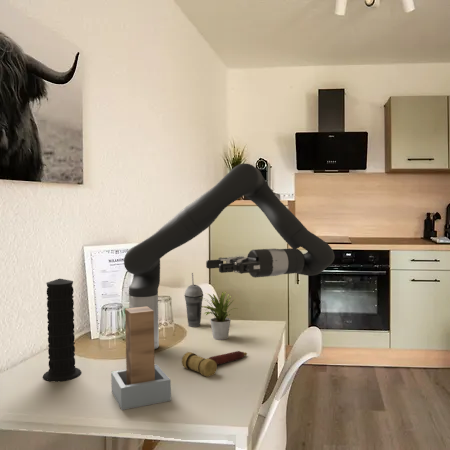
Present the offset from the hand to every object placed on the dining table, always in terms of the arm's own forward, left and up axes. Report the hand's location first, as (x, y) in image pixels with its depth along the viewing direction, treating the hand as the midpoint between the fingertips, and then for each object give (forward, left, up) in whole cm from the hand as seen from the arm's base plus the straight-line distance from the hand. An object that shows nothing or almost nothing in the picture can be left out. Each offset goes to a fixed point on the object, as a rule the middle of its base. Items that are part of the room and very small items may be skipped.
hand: (212, 266), depth 121 cm
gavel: (-7, +11, -31) cm, 33 cm away
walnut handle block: (-8, -18, -29) cm, 35 cm away
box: (-8, -18, -30) cm, 36 cm away
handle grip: (-36, -21, -30) cm, 52 cm away
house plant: (-24, +33, -30) cm, 51 cm away
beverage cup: (-41, +39, -30) cm, 64 cm away
